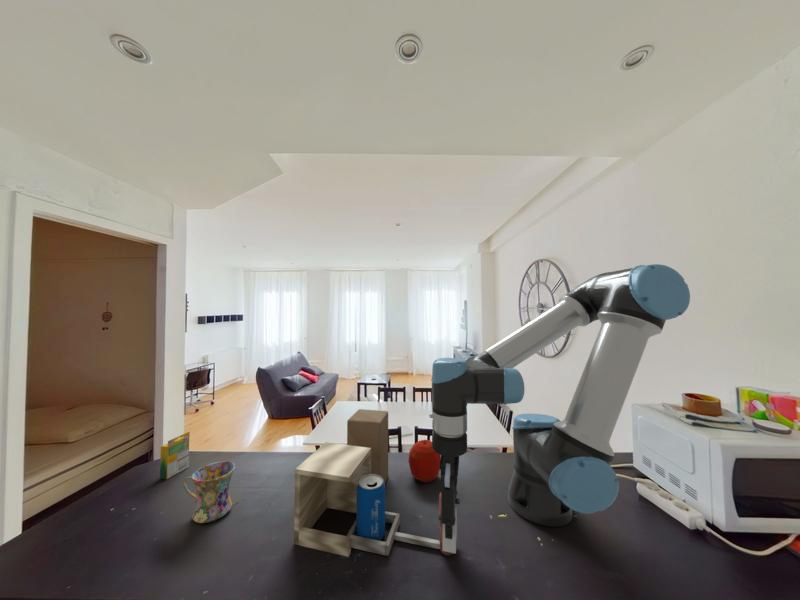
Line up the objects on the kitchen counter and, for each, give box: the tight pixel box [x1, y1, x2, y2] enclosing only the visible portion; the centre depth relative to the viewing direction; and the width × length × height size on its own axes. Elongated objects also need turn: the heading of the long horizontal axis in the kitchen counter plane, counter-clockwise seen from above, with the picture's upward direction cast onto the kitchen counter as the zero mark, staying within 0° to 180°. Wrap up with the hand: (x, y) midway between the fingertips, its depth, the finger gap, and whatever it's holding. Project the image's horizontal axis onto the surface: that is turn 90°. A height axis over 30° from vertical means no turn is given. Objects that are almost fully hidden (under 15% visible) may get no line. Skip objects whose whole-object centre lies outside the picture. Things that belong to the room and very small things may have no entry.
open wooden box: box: [293, 442, 371, 558], centre depth 66 cm, size 13×13×16 cm
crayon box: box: [159, 431, 191, 480], centre depth 89 cm, size 7×3×12 cm, turn 169°
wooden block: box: [346, 408, 389, 485], centre depth 83 cm, size 10×10×20 cm
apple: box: [407, 439, 441, 483], centre depth 86 cm, size 10×10×12 cm
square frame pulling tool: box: [346, 492, 455, 557], centre depth 62 cm, size 23×10×11 cm, turn 76°
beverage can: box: [356, 474, 386, 541], centre depth 64 cm, size 6×6×12 cm
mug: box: [182, 460, 236, 524], centre depth 71 cm, size 12×9×11 cm
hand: (450, 542), depth 59 cm, fingers closed on square frame pulling tool, 3 cm apart
